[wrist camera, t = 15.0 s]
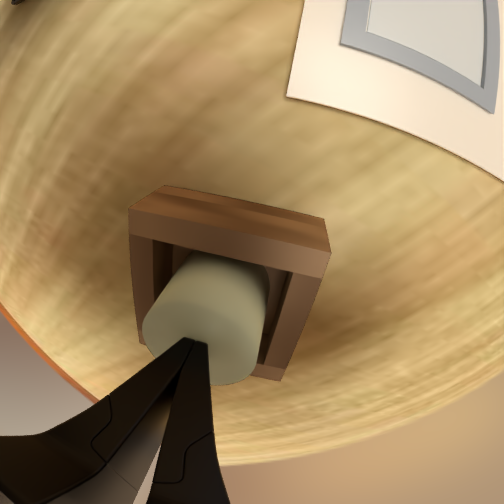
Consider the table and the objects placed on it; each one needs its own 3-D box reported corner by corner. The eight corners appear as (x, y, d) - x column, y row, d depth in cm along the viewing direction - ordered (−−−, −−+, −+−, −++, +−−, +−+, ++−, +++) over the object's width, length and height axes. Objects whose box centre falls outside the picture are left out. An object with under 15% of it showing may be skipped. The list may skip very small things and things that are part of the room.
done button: (180, 305, 13) (147, 366, 10) (183, 232, 11) (137, 287, 8) (260, 326, 13) (246, 394, 10) (279, 254, 11) (268, 322, 8)
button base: (162, 306, 15) (139, 343, 12) (164, 185, 12) (128, 208, 9) (284, 337, 15) (280, 381, 12) (324, 218, 11) (331, 252, 9)
